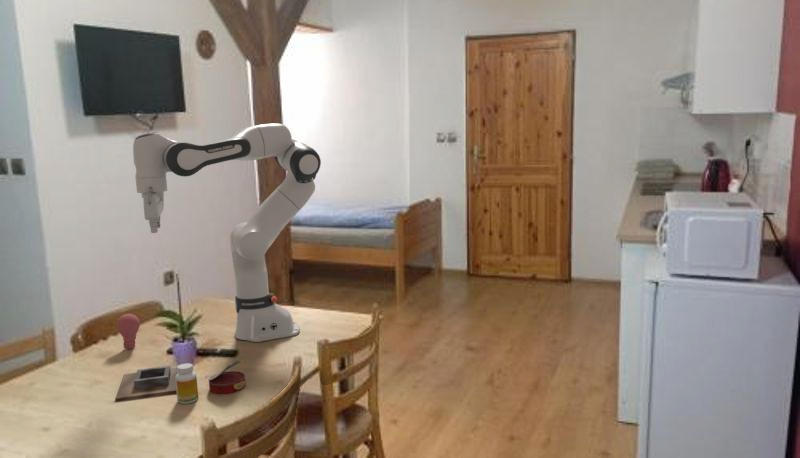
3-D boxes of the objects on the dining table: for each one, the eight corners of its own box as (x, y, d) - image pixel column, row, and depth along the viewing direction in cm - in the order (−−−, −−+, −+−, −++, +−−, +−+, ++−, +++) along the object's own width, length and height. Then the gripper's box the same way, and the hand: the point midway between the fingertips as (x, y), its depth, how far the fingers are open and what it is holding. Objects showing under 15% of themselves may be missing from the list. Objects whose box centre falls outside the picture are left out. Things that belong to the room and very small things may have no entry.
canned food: (222, 411, 180) (203, 386, 175) (214, 394, 188) (196, 370, 184) (257, 386, 183) (239, 360, 178) (248, 370, 191) (230, 346, 187)
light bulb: (146, 345, 222) (142, 311, 220) (135, 352, 215) (131, 317, 213) (126, 344, 222) (122, 311, 220) (115, 352, 215) (111, 317, 213)
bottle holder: (187, 368, 199) (186, 358, 198) (185, 391, 182) (184, 380, 181) (124, 376, 194) (122, 366, 193) (115, 401, 177) (114, 389, 176)
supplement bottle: (200, 400, 175) (197, 366, 174) (180, 406, 173) (177, 371, 171) (195, 394, 180) (192, 360, 178) (175, 399, 177) (172, 365, 175)
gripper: (159, 188, 192) (163, 234, 194) (165, 182, 211) (169, 224, 214) (136, 189, 190) (141, 236, 192) (144, 183, 210) (148, 226, 212)
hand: (156, 230), depth 203 cm, fingers open, 8 cm apart
